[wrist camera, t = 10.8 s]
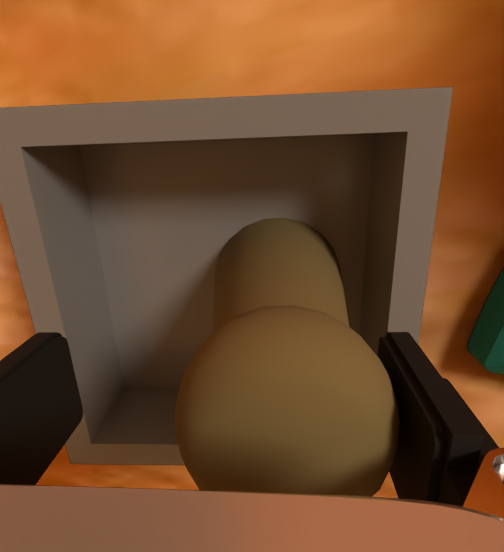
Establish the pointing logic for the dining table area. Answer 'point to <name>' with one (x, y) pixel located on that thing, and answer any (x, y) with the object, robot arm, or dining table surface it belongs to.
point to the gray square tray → (206, 229)
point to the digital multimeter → (490, 331)
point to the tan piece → (285, 376)
